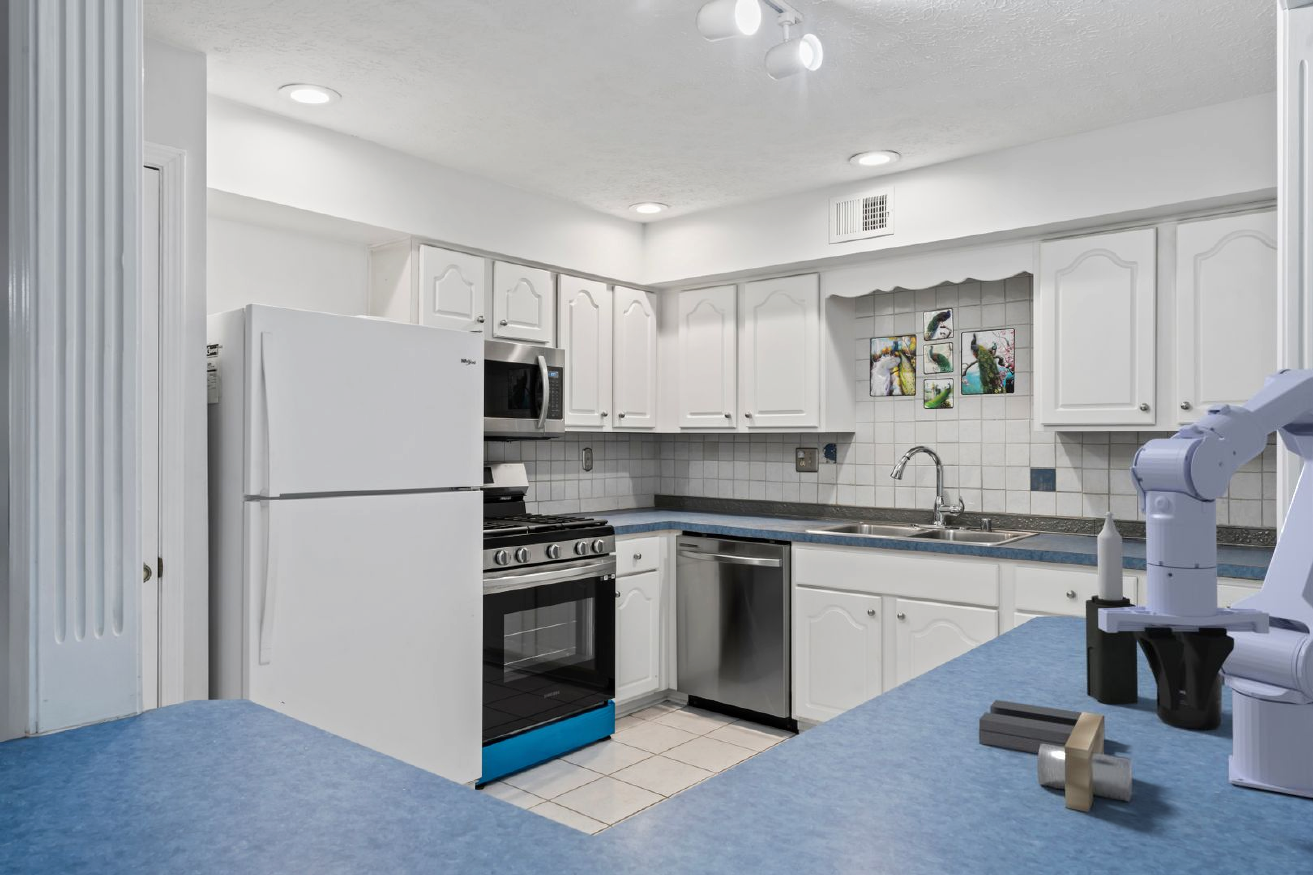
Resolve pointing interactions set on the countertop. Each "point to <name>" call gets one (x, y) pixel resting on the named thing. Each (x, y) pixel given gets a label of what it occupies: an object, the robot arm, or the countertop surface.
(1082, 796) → the beam
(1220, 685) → the supplement bottle
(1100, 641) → the candle
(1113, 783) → the silver metal cylinder
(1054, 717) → the v block
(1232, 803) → the countertop surface
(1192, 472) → the robot arm
